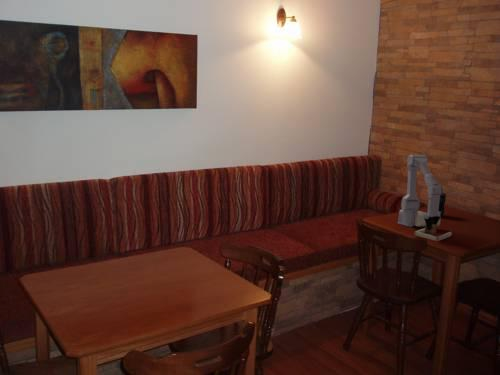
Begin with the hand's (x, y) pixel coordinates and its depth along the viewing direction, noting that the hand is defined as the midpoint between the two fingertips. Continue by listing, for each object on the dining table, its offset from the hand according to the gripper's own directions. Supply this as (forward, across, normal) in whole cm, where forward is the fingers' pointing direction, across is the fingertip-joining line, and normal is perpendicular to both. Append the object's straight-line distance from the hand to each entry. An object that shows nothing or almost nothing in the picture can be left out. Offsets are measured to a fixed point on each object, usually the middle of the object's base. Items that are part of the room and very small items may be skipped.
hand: (431, 229), depth 291 cm
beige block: (+2, 0, 0) cm, 2 cm away
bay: (+4, +4, 0) cm, 6 cm away
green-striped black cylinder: (+4, +46, +21) cm, 51 cm away
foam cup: (-1, +17, +4) cm, 18 cm away
